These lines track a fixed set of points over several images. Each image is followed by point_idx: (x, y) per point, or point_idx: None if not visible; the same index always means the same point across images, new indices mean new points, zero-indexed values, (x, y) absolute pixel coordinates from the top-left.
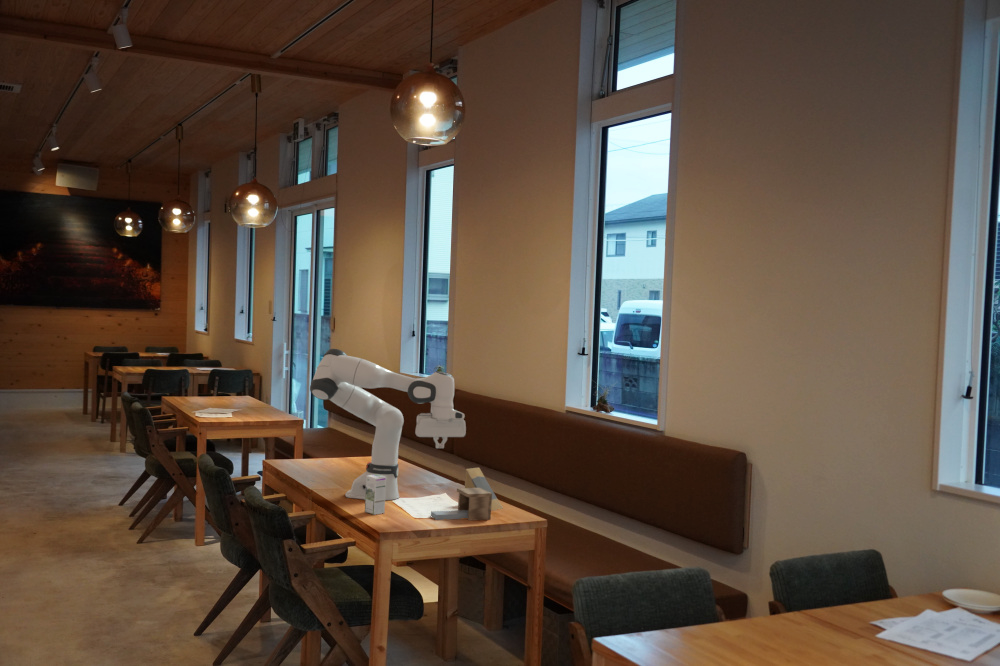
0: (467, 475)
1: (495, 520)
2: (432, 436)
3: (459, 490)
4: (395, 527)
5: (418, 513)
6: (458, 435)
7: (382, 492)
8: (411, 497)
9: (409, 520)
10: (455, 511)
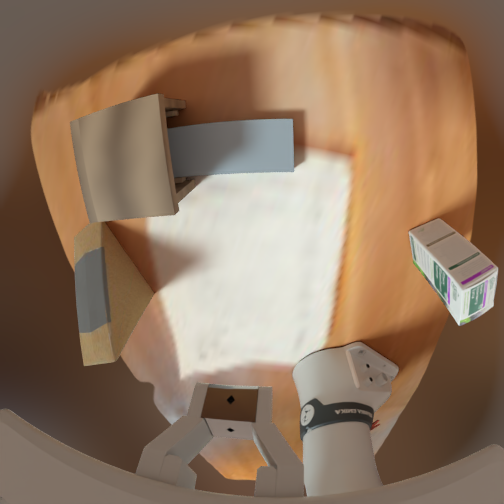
0: (117, 341)
1: (111, 104)
2: (361, 496)
3: (170, 185)
4: (433, 73)
5: (318, 211)
6: (26, 435)
7: (447, 254)
8: (266, 363)
9: (378, 131)
10: (208, 159)
